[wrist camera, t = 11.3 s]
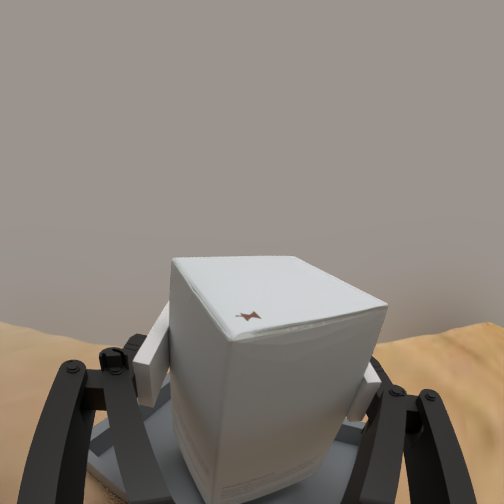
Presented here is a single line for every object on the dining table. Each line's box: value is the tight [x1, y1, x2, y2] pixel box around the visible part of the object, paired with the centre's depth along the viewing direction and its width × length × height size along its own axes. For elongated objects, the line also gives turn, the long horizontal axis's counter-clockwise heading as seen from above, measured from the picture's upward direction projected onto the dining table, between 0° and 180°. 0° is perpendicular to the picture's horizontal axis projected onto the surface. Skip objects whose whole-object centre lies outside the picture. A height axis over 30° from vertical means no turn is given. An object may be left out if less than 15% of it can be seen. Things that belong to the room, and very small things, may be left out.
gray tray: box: [86, 372, 366, 504], centre depth 15 cm, size 18×14×3 cm
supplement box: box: [169, 256, 388, 504], centre depth 13 cm, size 7×7×13 cm
